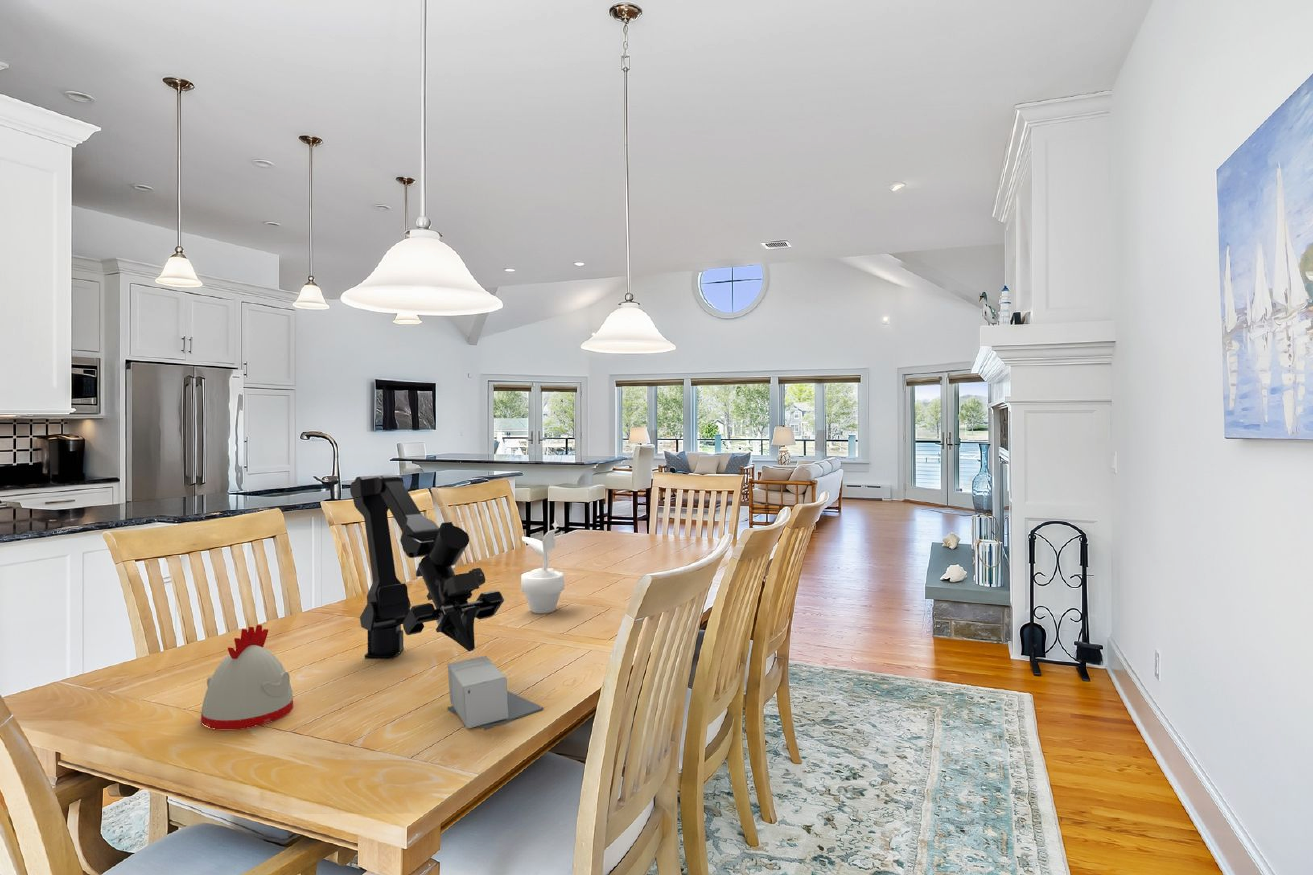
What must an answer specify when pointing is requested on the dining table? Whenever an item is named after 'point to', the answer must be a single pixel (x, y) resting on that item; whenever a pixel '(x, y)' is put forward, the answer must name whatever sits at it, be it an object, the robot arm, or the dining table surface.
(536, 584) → the potted plant
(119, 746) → the dining table surface
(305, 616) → the dining table surface
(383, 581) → the robot arm
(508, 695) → the mat
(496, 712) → the supplement box
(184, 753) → the dining table surface
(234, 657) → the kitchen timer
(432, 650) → the dining table surface
